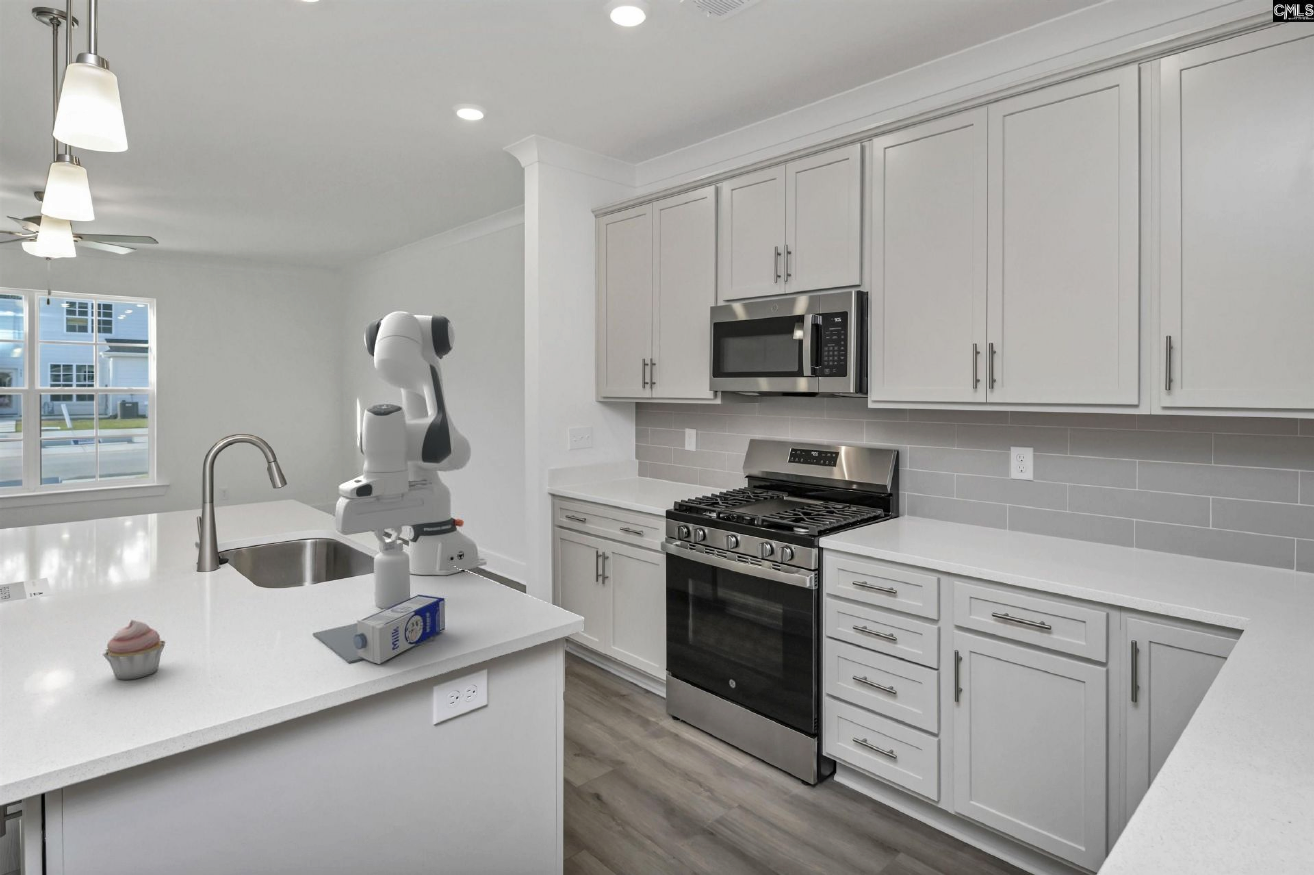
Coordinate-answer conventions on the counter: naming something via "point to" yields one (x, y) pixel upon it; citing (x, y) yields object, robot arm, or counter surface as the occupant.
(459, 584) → the counter surface
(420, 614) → the milk carton
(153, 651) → the cupcake
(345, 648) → the mat
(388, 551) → the pill bottle
